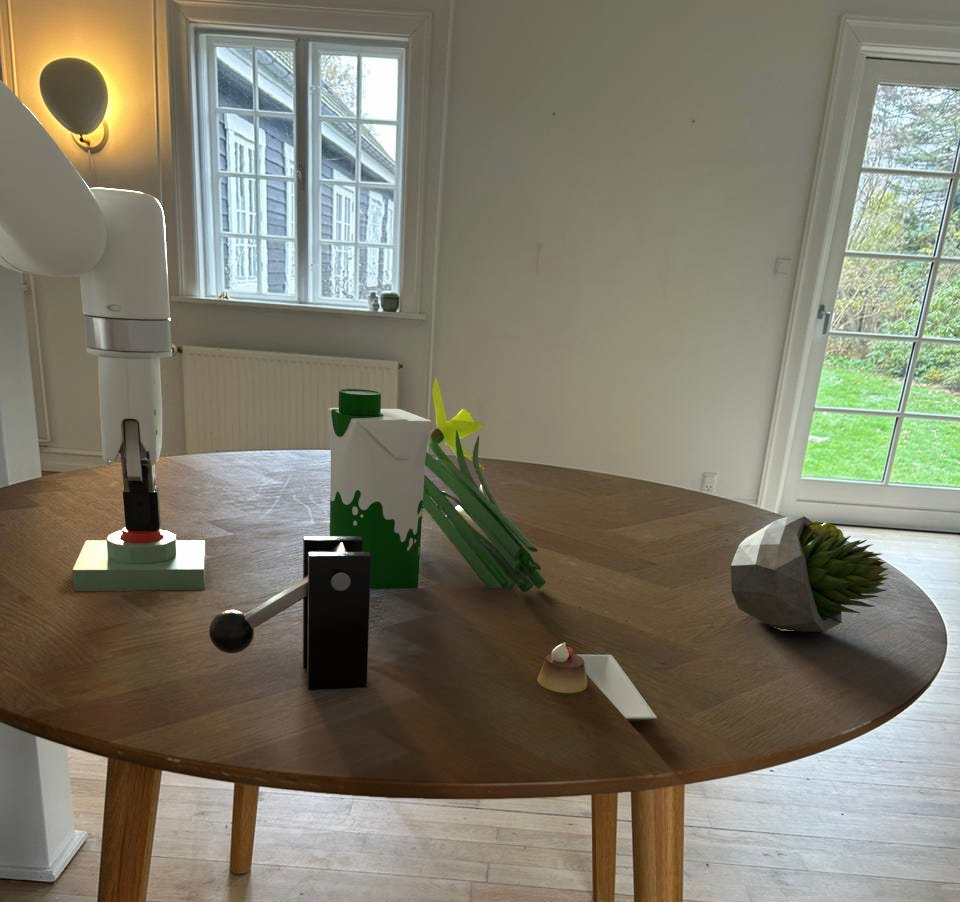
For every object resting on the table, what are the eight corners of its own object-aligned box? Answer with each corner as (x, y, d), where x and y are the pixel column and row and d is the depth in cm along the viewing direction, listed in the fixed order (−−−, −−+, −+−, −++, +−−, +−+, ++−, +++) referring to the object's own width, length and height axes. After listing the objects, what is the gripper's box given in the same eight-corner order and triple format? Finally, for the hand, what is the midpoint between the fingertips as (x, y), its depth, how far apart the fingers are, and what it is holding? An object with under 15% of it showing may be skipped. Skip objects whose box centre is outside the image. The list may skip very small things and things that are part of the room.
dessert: (610, 666, 78) (617, 615, 76) (655, 731, 67) (665, 674, 65) (476, 664, 76) (481, 613, 74) (501, 731, 65) (507, 672, 63)
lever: (226, 668, 65) (199, 634, 63) (225, 650, 67) (200, 618, 66) (366, 583, 65) (343, 548, 63) (360, 569, 68) (338, 535, 66)
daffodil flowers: (425, 611, 90) (323, 453, 114) (514, 656, 100) (403, 503, 124) (533, 483, 86) (404, 347, 109) (615, 544, 96) (480, 408, 119)
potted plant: (767, 565, 100) (911, 561, 91) (741, 659, 95) (891, 665, 86) (735, 494, 92) (889, 481, 83) (705, 592, 87) (866, 591, 78)
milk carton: (318, 578, 94) (320, 385, 86) (396, 571, 98) (404, 386, 91) (349, 606, 87) (354, 398, 79) (431, 597, 91) (443, 399, 84)
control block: (73, 591, 85) (69, 551, 83) (87, 560, 93) (84, 523, 92) (204, 590, 88) (203, 551, 86) (205, 559, 97) (204, 524, 95)
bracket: (257, 720, 64) (254, 565, 59) (252, 669, 72) (250, 528, 67) (419, 712, 67) (428, 564, 63) (398, 663, 75) (405, 529, 71)
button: (121, 551, 87) (120, 534, 87) (125, 540, 91) (123, 524, 90) (160, 551, 88) (159, 534, 88) (162, 540, 92) (161, 524, 91)
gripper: (95, 329, 88) (111, 509, 95) (73, 342, 74) (94, 551, 81) (175, 333, 90) (185, 510, 97) (167, 347, 76) (180, 550, 83)
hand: (143, 528), depth 89 cm, fingers closed
